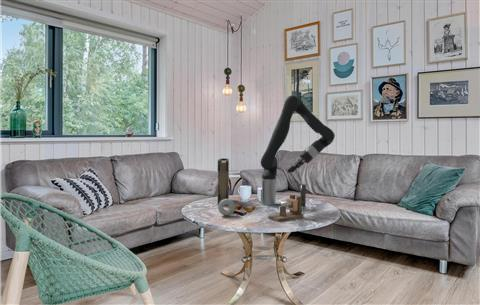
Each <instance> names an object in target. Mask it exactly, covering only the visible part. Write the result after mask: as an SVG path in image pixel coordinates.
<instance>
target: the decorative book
mask: <svg viewBox="0 0 480 305" xmlns="http://www.w3.org/2000/svg"><path fill="white" fill-rule="evenodd" d="M229 160H230V158H219V159H217V206H218V205H219V203H220V202H221V201H222V200H223V199H230V197H229V196H230V195H229V193H230V192H229V189H230V186H229V184H230V182H229V181H230V180H229V178H230V174H229V173H230V171H229V170H230V166H229V165H230V161H229ZM225 206H226V207H229V205H225Z"/></svg>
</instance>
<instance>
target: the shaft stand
mask: <svg viewBox="0 0 480 305" xmlns="http://www.w3.org/2000/svg"><path fill="white" fill-rule="evenodd" d="M289 198H290V199H295V200H298V206H297V211H293V210H289V212H287V209H286V206H284V207H281V206H279V213H277V214H273V215H272V214H270V215H267V216H268V217H267V218H268V219H269V220H272V221H274V222H278V223H280V222H285V221H291V220H297V219H300V218H304V216H305V215H304V213H303V209H302V208H303V207H302V197H301V195H297V196H296V195H295V194H289ZM291 207H292V208H293V205H291Z"/></svg>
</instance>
